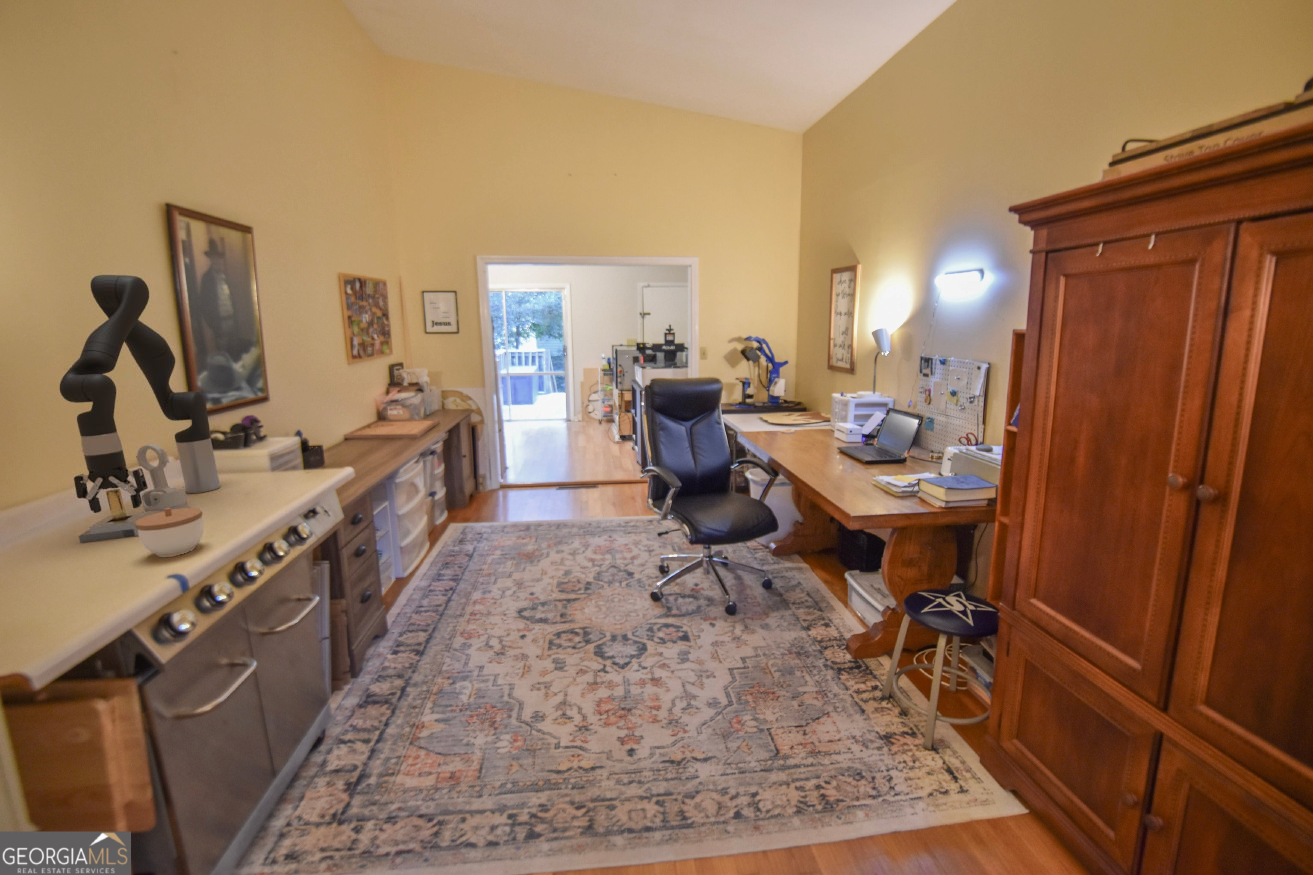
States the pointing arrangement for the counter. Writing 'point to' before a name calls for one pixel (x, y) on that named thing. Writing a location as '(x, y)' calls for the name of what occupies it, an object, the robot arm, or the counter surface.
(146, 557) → the counter surface
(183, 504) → the engine component
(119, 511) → the brass pin
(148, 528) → the lidded bowl
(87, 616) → the counter surface
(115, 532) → the gray slotted plate
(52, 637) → the counter surface
